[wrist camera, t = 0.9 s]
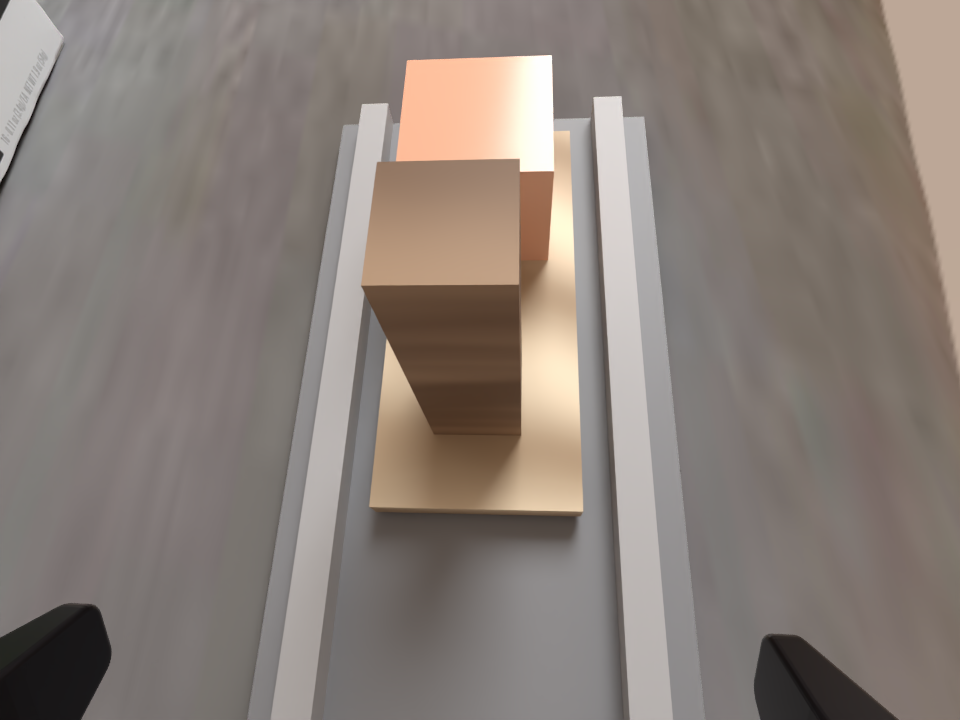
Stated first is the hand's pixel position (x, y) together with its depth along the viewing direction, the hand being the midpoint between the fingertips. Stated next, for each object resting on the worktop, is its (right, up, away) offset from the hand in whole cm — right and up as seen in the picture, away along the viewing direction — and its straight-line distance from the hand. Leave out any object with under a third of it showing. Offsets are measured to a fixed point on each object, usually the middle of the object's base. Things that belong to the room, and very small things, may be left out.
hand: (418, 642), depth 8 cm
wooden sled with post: (+1, +6, +15) cm, 17 cm away
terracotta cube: (+1, +10, +16) cm, 19 cm away
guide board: (+1, +1, +15) cm, 15 cm away
